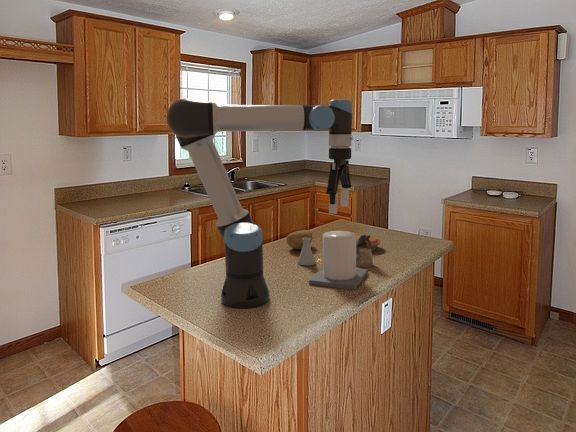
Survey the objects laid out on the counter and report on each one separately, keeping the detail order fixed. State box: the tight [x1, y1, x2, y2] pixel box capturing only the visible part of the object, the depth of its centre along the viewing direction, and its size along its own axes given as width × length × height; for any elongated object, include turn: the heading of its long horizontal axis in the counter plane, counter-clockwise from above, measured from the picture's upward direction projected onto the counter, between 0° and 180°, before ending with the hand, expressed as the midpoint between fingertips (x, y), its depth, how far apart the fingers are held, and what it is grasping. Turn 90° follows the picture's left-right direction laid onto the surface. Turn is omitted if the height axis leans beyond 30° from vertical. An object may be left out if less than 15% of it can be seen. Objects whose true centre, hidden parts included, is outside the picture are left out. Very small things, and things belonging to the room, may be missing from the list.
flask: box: [297, 238, 317, 267], centre depth 187 cm, size 7×7×10 cm
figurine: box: [356, 233, 374, 268], centre depth 185 cm, size 7×7×12 cm
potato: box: [286, 229, 313, 250], centre depth 208 cm, size 10×14×8 cm
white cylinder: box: [322, 230, 357, 280], centre depth 168 cm, size 11×11×14 cm
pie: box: [356, 234, 381, 252], centre depth 207 cm, size 15×16×5 cm
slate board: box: [308, 267, 369, 291], centre depth 170 cm, size 18×16×2 cm
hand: (339, 209), depth 165 cm, fingers open, 13 cm apart
